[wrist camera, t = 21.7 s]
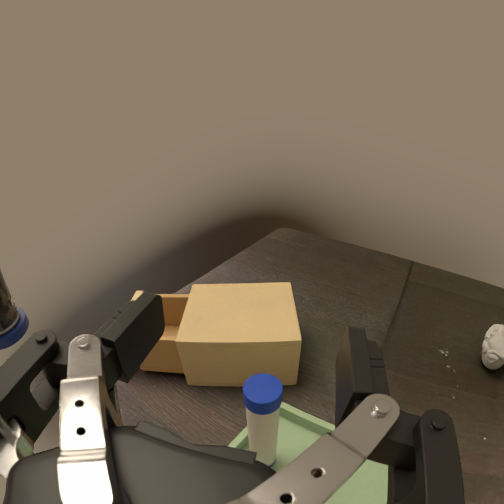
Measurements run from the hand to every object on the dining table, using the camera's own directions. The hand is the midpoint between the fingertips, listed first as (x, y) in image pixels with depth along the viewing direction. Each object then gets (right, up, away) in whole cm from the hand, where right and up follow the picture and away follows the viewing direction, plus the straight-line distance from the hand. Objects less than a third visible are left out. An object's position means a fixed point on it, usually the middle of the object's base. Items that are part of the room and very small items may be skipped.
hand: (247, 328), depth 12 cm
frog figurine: (+38, -15, +20) cm, 46 cm away
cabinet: (-1, -12, +29) cm, 31 cm away
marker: (+1, -19, +13) cm, 23 cm away
